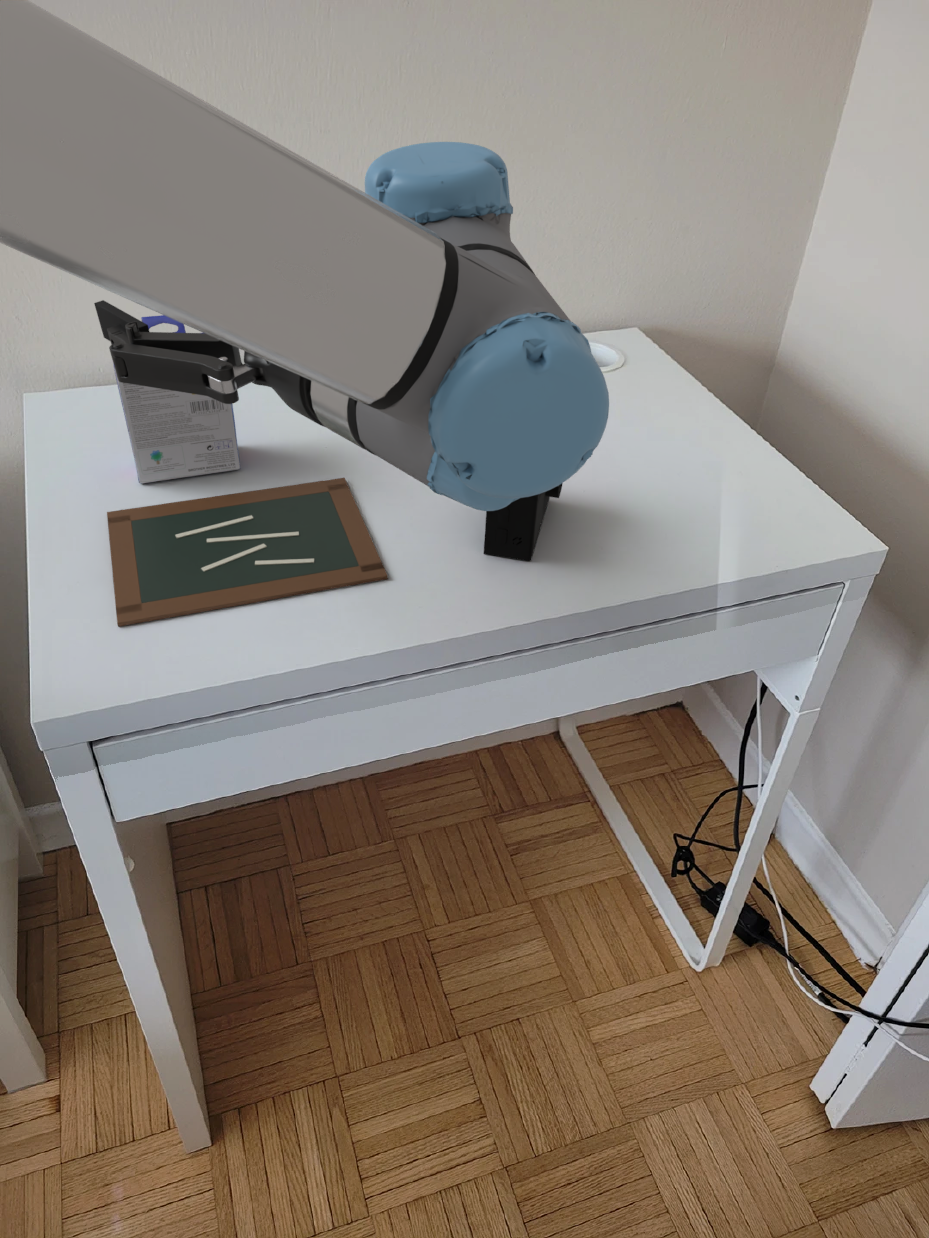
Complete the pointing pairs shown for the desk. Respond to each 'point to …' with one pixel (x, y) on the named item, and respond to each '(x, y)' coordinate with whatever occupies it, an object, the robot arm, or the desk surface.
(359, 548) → the chalkboard
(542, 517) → the digital camera
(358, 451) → the desk surface
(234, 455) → the ink cartridge box
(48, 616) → the desk surface
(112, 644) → the desk surface
